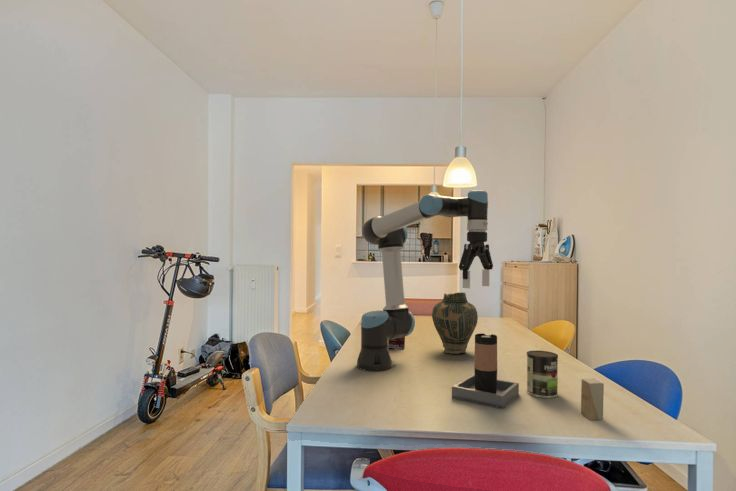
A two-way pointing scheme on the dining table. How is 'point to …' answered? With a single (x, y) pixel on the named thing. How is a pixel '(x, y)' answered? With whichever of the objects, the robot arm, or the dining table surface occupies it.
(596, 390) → the box
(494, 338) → the travel mug
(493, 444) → the dining table surface
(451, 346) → the vase
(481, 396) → the bin
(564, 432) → the dining table surface
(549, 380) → the coffee can
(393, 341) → the supplement box
